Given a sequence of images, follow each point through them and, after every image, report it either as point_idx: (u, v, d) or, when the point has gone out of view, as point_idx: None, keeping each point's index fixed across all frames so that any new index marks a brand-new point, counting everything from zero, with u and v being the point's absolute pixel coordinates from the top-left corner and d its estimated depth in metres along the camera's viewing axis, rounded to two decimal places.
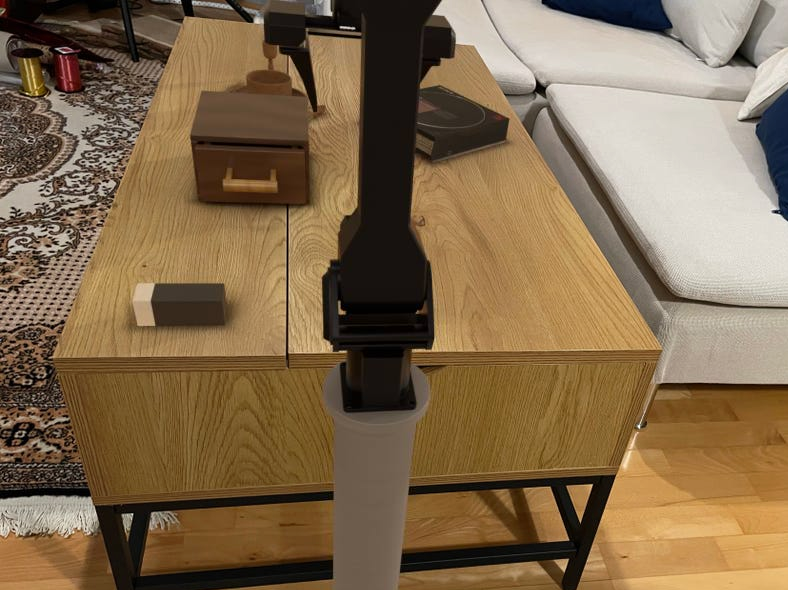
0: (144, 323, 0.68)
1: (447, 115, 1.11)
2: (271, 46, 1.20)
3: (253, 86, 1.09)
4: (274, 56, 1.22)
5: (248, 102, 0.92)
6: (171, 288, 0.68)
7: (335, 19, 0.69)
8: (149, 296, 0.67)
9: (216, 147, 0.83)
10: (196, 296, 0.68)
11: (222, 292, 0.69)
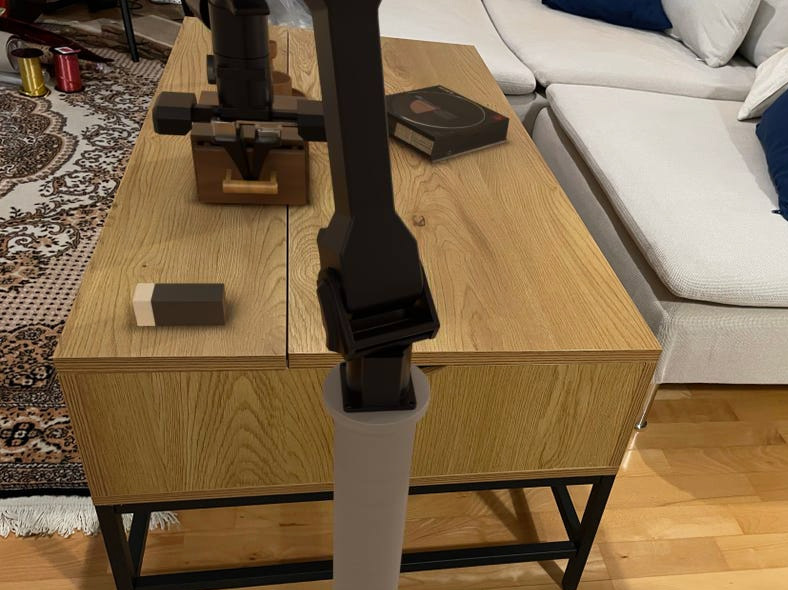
0: (144, 323, 0.68)
1: (447, 115, 1.11)
2: (271, 46, 1.20)
3: None
4: (274, 56, 1.22)
5: None
6: (171, 288, 0.68)
7: (220, 109, 0.76)
8: (149, 296, 0.67)
9: (216, 148, 0.82)
10: (196, 296, 0.68)
11: (222, 292, 0.69)
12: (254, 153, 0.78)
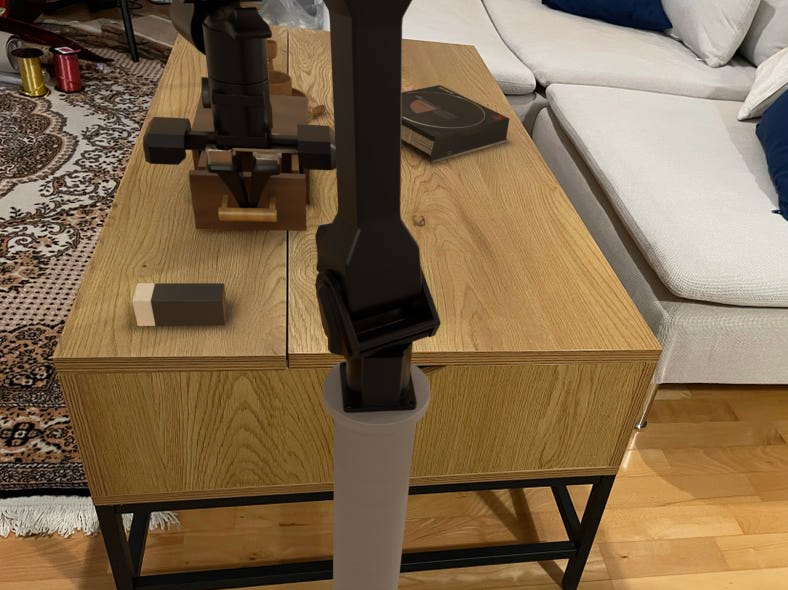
0: (144, 323, 0.68)
1: (447, 115, 1.11)
2: (271, 46, 1.20)
3: None
4: (274, 56, 1.22)
5: None
6: (171, 288, 0.68)
7: (216, 136, 0.71)
8: (149, 296, 0.67)
9: (211, 173, 0.78)
10: (196, 296, 0.68)
11: (222, 292, 0.69)
12: (252, 182, 0.74)
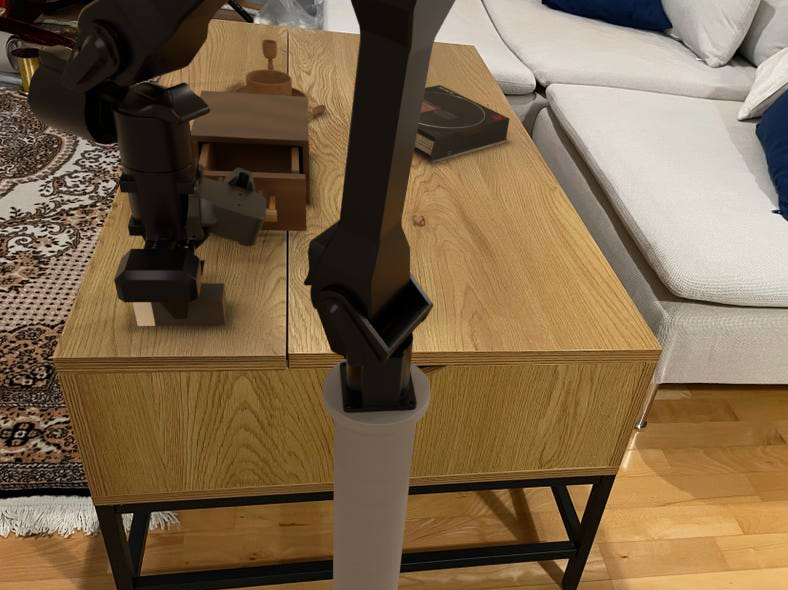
0: (144, 323, 0.68)
1: (447, 115, 1.11)
2: (271, 46, 1.20)
3: (253, 86, 1.09)
4: (274, 56, 1.22)
5: (248, 102, 0.92)
6: None
7: None
8: None
9: (211, 173, 0.78)
10: None
11: (222, 292, 0.69)
12: None
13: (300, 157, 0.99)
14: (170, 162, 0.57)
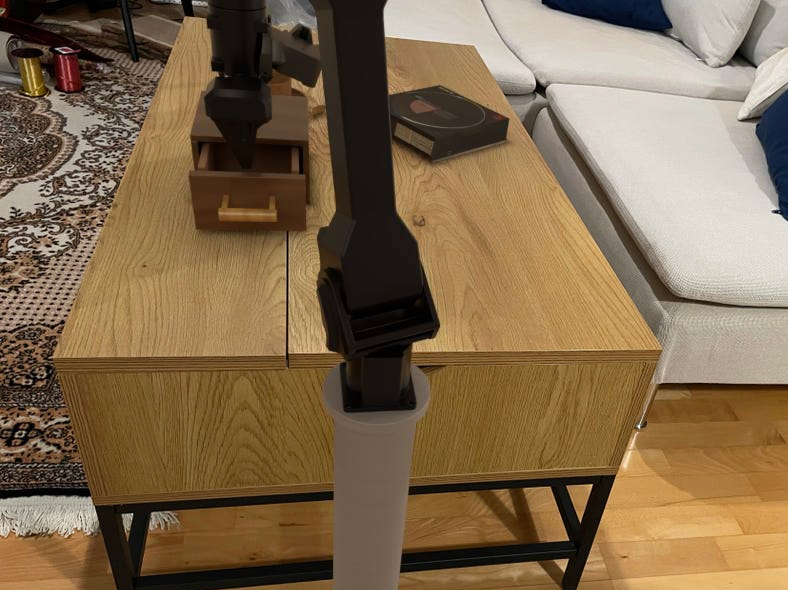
0: None
1: (447, 115, 1.11)
2: None
3: None
4: None
5: None
6: None
7: None
8: None
9: (211, 173, 0.77)
10: None
11: None
12: None
13: (300, 157, 0.99)
14: (231, 0, 0.68)
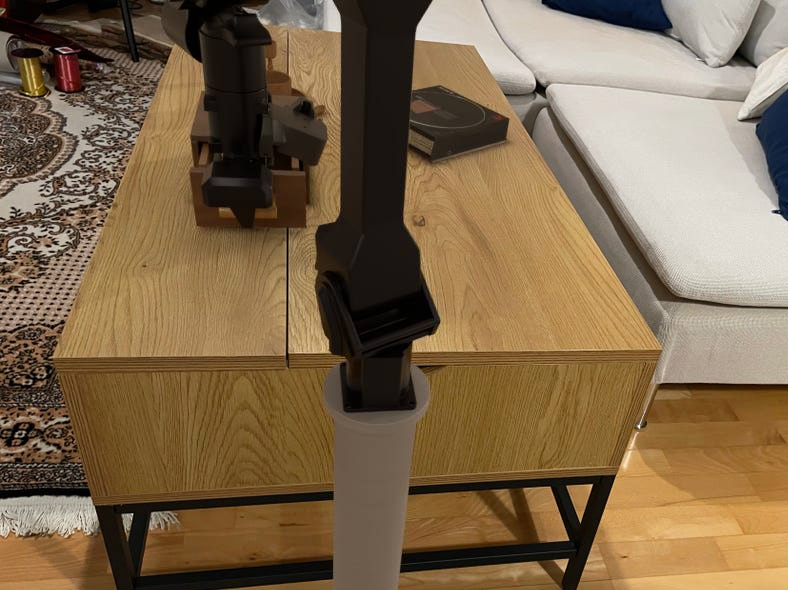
0: None
1: (447, 115, 1.11)
2: (271, 46, 1.20)
3: None
4: (274, 56, 1.22)
5: None
6: None
7: None
8: None
9: None
10: None
11: None
12: None
13: None
14: (234, 83, 0.64)
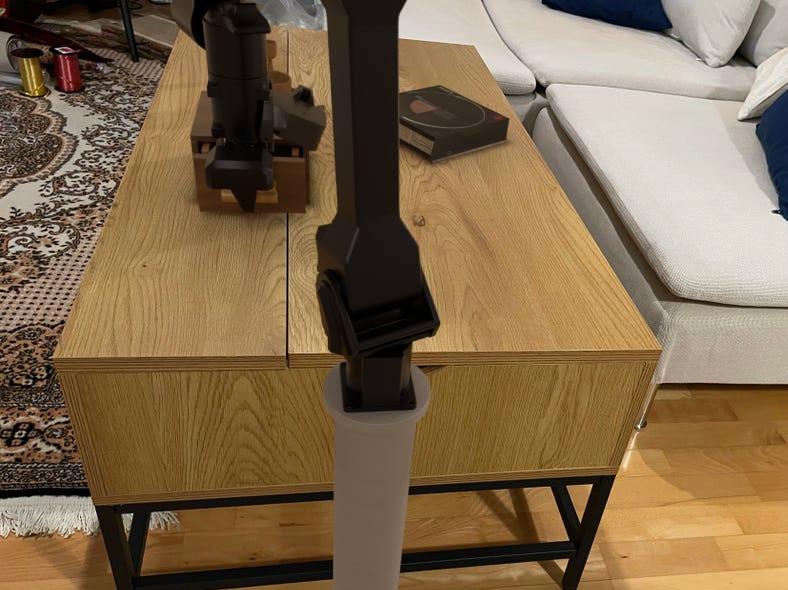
0: None
1: (447, 115, 1.11)
2: (271, 46, 1.20)
3: None
4: (274, 56, 1.22)
5: None
6: None
7: None
8: None
9: None
10: None
11: None
12: None
13: (300, 157, 0.99)
14: (234, 70, 0.67)
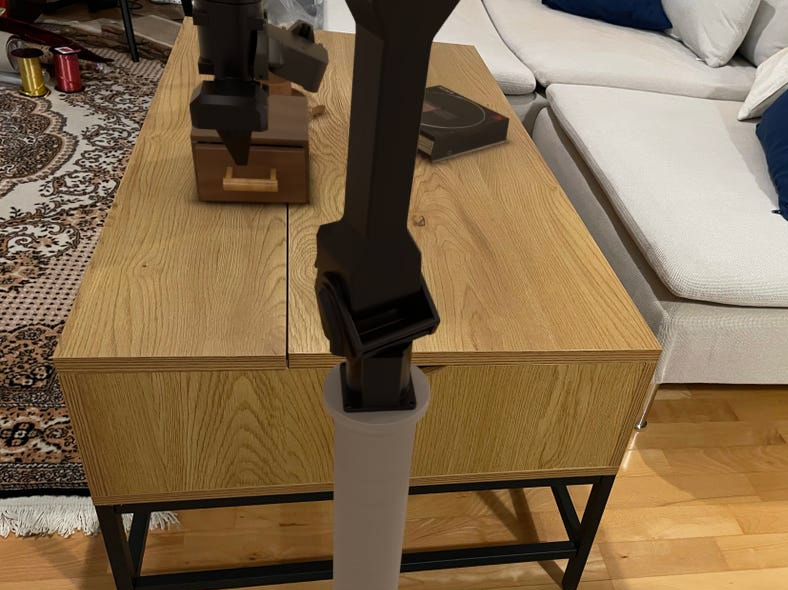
0: None
1: (447, 115, 1.11)
2: None
3: None
4: None
5: None
6: None
7: None
8: None
9: (216, 146, 0.83)
10: None
11: None
12: None
13: None
14: None
